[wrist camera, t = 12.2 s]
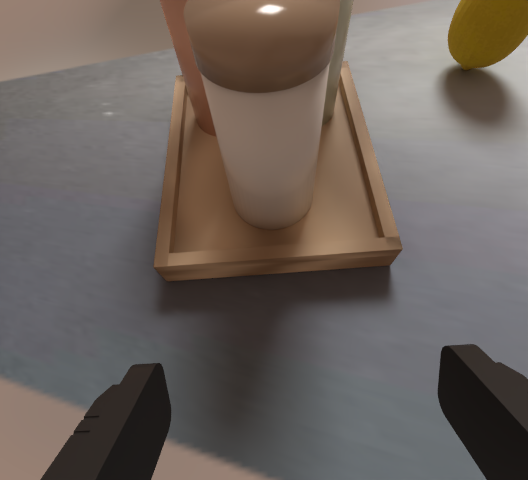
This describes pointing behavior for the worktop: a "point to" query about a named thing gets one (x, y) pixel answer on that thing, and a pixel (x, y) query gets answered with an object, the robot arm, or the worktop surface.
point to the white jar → (266, 97)
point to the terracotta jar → (188, 63)
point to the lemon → (487, 31)
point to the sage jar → (337, 59)
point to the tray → (280, 240)
